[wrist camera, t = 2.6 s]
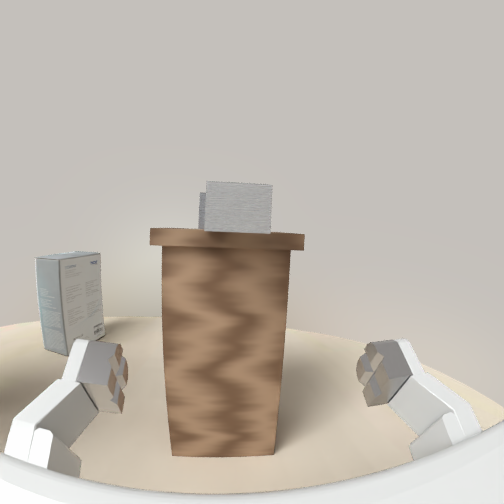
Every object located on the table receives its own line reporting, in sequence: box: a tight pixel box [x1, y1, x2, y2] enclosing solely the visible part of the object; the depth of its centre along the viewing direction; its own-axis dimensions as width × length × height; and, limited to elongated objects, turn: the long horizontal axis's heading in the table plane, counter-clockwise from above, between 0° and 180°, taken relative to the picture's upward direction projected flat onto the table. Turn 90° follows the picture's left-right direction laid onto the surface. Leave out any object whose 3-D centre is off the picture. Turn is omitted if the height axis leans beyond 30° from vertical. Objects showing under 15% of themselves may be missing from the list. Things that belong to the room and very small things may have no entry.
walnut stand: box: [150, 228, 305, 457], centre depth 35 cm, size 14×13×26 cm
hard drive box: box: [35, 251, 105, 356], centre depth 59 cm, size 16×8×20 cm, turn 173°
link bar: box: [198, 181, 272, 234], centre depth 29 cm, size 6×22×4 cm, turn 8°
